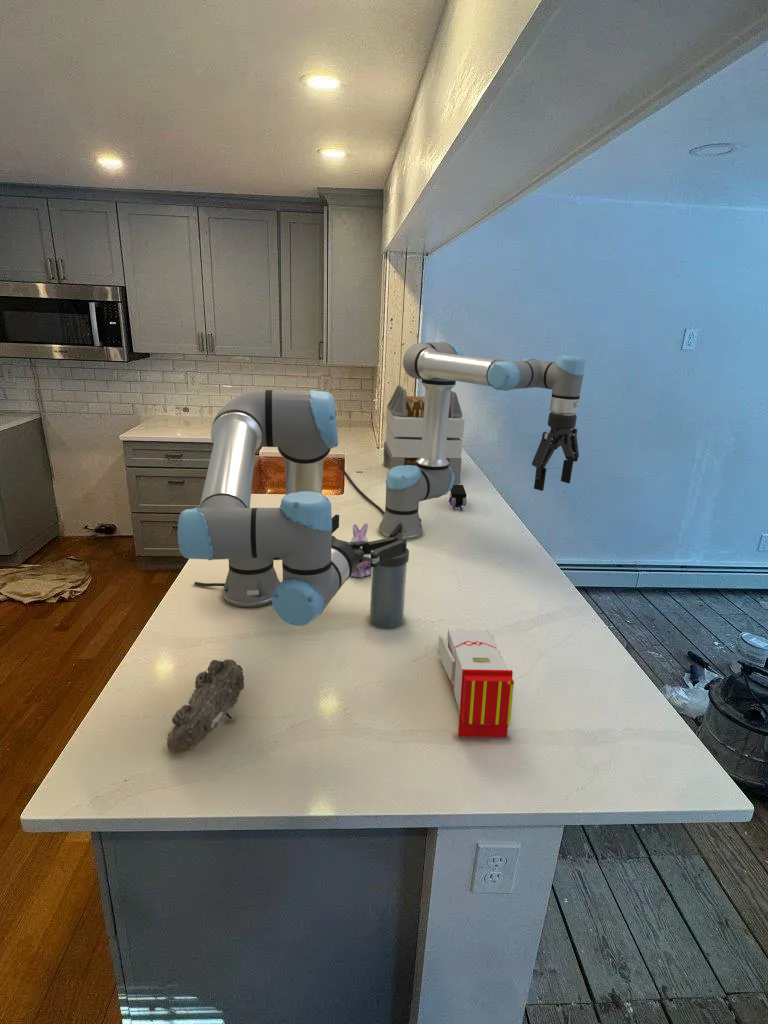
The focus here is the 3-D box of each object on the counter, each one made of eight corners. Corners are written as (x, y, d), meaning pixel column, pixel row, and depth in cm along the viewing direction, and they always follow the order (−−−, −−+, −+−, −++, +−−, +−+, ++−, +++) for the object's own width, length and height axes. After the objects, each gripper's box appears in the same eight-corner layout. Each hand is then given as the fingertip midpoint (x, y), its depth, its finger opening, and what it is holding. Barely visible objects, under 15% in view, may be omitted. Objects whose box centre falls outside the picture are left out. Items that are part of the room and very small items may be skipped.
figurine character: (467, 515, 225) (461, 499, 238) (469, 498, 221) (463, 482, 235) (450, 514, 224) (445, 498, 238) (452, 497, 221) (447, 482, 234)
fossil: (192, 660, 117) (244, 628, 112) (224, 691, 120) (276, 661, 115) (142, 746, 98) (202, 712, 93) (182, 779, 101) (242, 748, 96)
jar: (362, 618, 144) (364, 551, 138) (386, 607, 150) (389, 542, 144) (386, 632, 139) (389, 562, 132) (410, 620, 145) (414, 553, 138)
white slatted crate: (382, 463, 289) (386, 382, 275) (445, 464, 293) (451, 384, 279) (390, 482, 257) (394, 392, 243) (460, 483, 261) (468, 394, 247)
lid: (362, 557, 139) (362, 549, 138) (389, 548, 145) (389, 540, 144) (389, 570, 132) (389, 562, 132) (416, 559, 139) (416, 551, 138)
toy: (488, 613, 130) (523, 677, 101) (484, 667, 133) (517, 744, 104) (435, 612, 130) (455, 676, 101) (432, 666, 133) (451, 743, 103)
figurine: (354, 581, 164) (356, 533, 159) (340, 567, 172) (341, 520, 167) (383, 575, 168) (386, 528, 163) (368, 562, 176) (370, 516, 171)
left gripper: (265, 574, 102) (312, 533, 121) (398, 598, 96) (426, 551, 115) (264, 535, 100) (312, 500, 119) (401, 557, 93) (428, 516, 113)
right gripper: (548, 419, 148) (537, 496, 155) (598, 411, 163) (586, 482, 171) (525, 414, 153) (515, 489, 160) (575, 407, 169) (564, 476, 176)
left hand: (368, 525), depth 117 cm, fingers open, 13 cm apart
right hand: (552, 485), depth 166 cm, fingers open, 13 cm apart
